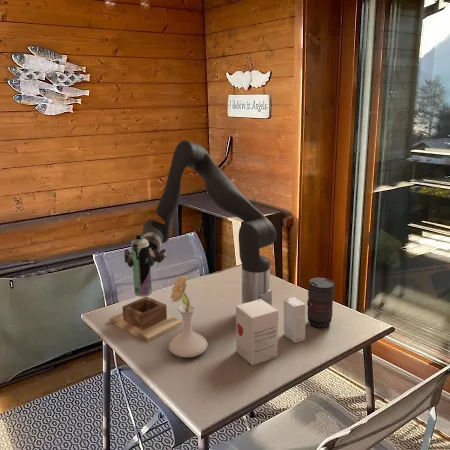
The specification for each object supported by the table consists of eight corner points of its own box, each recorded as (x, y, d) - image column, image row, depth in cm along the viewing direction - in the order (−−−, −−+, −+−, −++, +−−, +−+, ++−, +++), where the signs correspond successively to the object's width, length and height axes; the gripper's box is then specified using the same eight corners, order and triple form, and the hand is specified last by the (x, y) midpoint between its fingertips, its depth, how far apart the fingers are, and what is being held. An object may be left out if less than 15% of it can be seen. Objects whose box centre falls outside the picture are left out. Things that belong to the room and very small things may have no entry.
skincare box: (305, 340, 144) (307, 304, 140) (293, 343, 142) (294, 307, 138) (294, 331, 149) (295, 296, 145) (282, 334, 147) (283, 299, 144)
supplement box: (235, 351, 138) (234, 304, 134) (260, 343, 142) (261, 297, 138) (251, 366, 130) (251, 317, 126) (278, 357, 135) (279, 310, 130)
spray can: (150, 296, 149) (146, 237, 143) (133, 296, 149) (128, 237, 143) (153, 289, 154) (149, 231, 148) (136, 289, 154) (132, 231, 148)
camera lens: (317, 333, 147) (319, 289, 143) (301, 322, 154) (303, 280, 150) (337, 326, 151) (340, 283, 147) (320, 316, 158) (323, 275, 154)
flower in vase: (171, 340, 144) (168, 264, 137) (208, 340, 144) (207, 264, 137) (165, 364, 132) (160, 282, 125) (205, 364, 131) (203, 282, 124)
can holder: (182, 325, 153) (181, 307, 151) (148, 342, 143) (147, 323, 141) (142, 307, 166) (141, 290, 164) (109, 322, 156) (108, 304, 154)
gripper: (127, 235, 161) (115, 253, 145) (169, 235, 161) (162, 253, 145) (129, 256, 163) (117, 275, 147) (170, 256, 163) (163, 275, 147)
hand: (139, 264), depth 146 cm, fingers closed on spray can, 5 cm apart
